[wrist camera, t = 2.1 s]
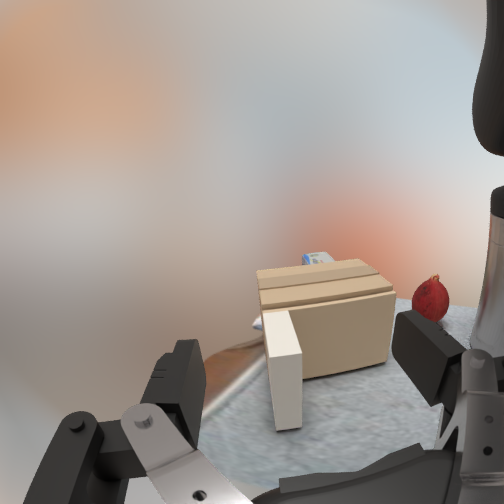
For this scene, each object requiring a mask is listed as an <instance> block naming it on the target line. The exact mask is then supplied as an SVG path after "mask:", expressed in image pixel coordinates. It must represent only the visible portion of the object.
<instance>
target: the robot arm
mask: <svg viewBox="0 0 504 504" xmlns="http://www.w3.org/2000/svg"><path fill="white" fill-rule="evenodd" d="M472 115H473V125H474V130H475V133H476V136H477V138H478V141H479V142H480V144H481V145H482V146H483V147H484V148H485V149H486V150H487V151H488V152H490V153H493V154H495V155H499V156H504V0H487V29H486V39H485V45H484V50H483V55H482V59H481V63H480V68H479V72H478V75H477V79H476V83H475V88H474V94H473V104H472ZM490 209H491V211H490V212H491V213H490V229H489V242H488V252H487V261H486V267H485V274H484V280H483V286H482V291H481V296H480V301H479V306H478V310H477V314H476V318H475V322H474V326H473V330H472V333H471V337H470V344H471V347H472V349H469V350H467V349H465V348H464V347H463V346H462V345H461V344H460V343H459V342H458V341H456V340H455V339H454V338H453V337H452V336H451V335H448V333H447V332H446V331H445V330H443V328H442V327H440V326H439V325H438V324H437V323H436V322H433V321H431V320H429V319H427V318H424V317H423V316H422V315H421V314H420V313H419V312H417V311H416V310H409V311H405V312H400V313H398V314H397V316H396V320H395V327H394V334H393V340H392V354H393V356H394V358H395V360H396V361H397V362H398V364H399V365H400V366H401V368H402V369H403V370H404V371H405V373H406V374H407V375H408V377H409V378H410V379H411V381H412V382H413V383H414V385H415V386H416V387H417V389H418V390H419V392H420V393H421V394H422V396H423V397H424V398H425V400H426V401H427V402H428V404H429V405H430V407H432V406H434V405H436V404H439V403H441V402H442V403H443V407H442V409H441V413H440V419H439V425H438V431H437V436H436V441H435V446H434V449H432V450H423V448H422V447H421V445H420V443H417V444H414V445H412V446H409V447H407V448H404V449H401V450H399V451H396V452H393V453H390V454H388V455H386V456H385V457H383V458H381V459H380V460H378V461H376V462H374V463H373V464H371V465H369V466H367V467H365V468H363V469H362V470H359V471H356V472H341V473H313V474H308V475H302V476H295V477H288V478H280V479H279V488H276V489H273V490H270V491H268V492H265V493H263V494H261V495H259V496H257V497H256V498H254V499H253V500H251V501H250V500H249V499H248V498H246V497H245V496H244V495H243V494H242V493H241V492H240V491H239V490H238V489H237V488H236V487H235V486H234V485H233V484H232V483H230V481H229V480H227V479H226V478H225V477H224V475H223V474H222V473H221V472H220V471H219V470H218V469H217V468H216V467H215V466H214V465H213V464H212V463H211V462H210V461H209V460H208V459H207V458H206V456H205V455H204V454H203V453H202V452H201V451H200V450H198V449H197V445H198V437H199V430H200V423H201V416H202V409H203V402H204V395H205V389H206V373H205V368H204V364H203V360H202V356H201V351H200V347H199V343H198V340H197V339H190V340H178V341H177V343H176V345H175V348H174V351H173V353H165V354H164V355H163V356H162V357H161V358H160V359H159V360H158V361H157V363H156V365H155V368H154V371H153V373H152V375H151V379H150V380H149V382H148V384H147V387H146V389H145V392H144V394H143V397H142V400H141V402H140V404H138V405H134V406H132V407H130V408H129V409H128V410H126V411H125V412H124V414H123V415H122V417H121V419H120V420H114V421H107V422H97V420H96V418H95V417H94V416H93V415H92V414H90V413H88V412H84V411H79V412H74V413H71V414H69V415H68V416H66V417H65V418H64V419H63V420H62V422H61V423H60V425H59V427H58V429H57V431H56V433H55V435H54V437H53V439H52V441H51V443H50V444H49V446H48V449H47V451H46V453H45V455H44V457H43V459H42V461H41V463H40V465H39V468H38V470H37V472H36V474H35V476H34V478H33V481H32V483H31V486H30V488H29V490H28V492H27V495H26V497H25V500H24V502H23V504H124V501H125V496H126V491H127V487H128V482H129V478H138V477H146V476H148V477H149V479H150V480H151V482H152V484H153V485H154V487H155V488H156V490H157V491H158V493H159V494H160V496H161V497H162V499H163V500H164V502H165V503H166V504H504V186H501V187H498V188H496V189H494V190H493V192H492V194H491V208H490Z"/></svg>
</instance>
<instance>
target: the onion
mask: <svg viewBox="0 0 504 504" xmlns="http://www.w3.org/2000/svg"><path fill="white" fill-rule="evenodd" d="M448 307H449V296H448V292H447V290H446V288H445V287H444V286H443V284H441V283H440V282H439V276H438V274H434V275H432V276H431V277H430V279H429V280H427V281H425V282H424V283H422V284H421V285H420V286H419V287H418V288H417V290H416V291H415V293H414V295H413V298H412V310H416V311H417V312H419V313H420V314H421V315H422V316H423V317H424V318H427V319H429V320H431V321H433V322H437V321H439V320H440V319H442V318H443V317H444V315H445V314H446V313H447V310H448Z"/></svg>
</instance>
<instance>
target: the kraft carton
mask: <svg viewBox="0 0 504 504" xmlns="http://www.w3.org/2000/svg"><path fill="white" fill-rule="evenodd" d="M257 281H258V291H259V300H260V310H261V320H262V329H263V338H264V346H265V353H266V343H265V333H264V323H263V313H262V311H263V310H272V309H280V308H288V307H296V306H303V305H311V304H318V303H325V302H331V301H338V300H344V299H350V298H356V297H362V296H368V295H374V294H379V293H385V292H390V291H392V290H393V285H392V284H391V283H389V282H388V281H387V280H385V279H384V278H383V277H382V276H380V275H379V272H377V271H376V270H375V269H374V268H372V267H371V266H370V265H366V264H365V263H364V262H362V261H361V260H360V259H351V260H343V261H335V262H327V263H319V264H310V265H302V266H294V267H286V268H277V269H268V270H259V271H257ZM266 361H267V353H266ZM267 368H268V363H267ZM268 376H269V373H268Z"/></svg>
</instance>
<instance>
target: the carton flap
mask: <svg viewBox="0 0 504 504" xmlns="http://www.w3.org/2000/svg"><path fill="white" fill-rule="evenodd" d="M395 302H396V292H395V291H390V292H385V293H379V294H374V295H368V296H362V297H356V298H350V299H344V300H338V301H331V302H325V303H318V304H311V305H303V306H296V307H288V308H280V309H272V310H263V311H262V313H263V323H264V333H265V343H266V353H267V363H268V373H269V382H270V390H271V397H272V405H273V412H274V420H275V427H276V431H277V430H285V429H292V428H299V427H302V379H306V378H312V377H318V376H323V375H329V374H334V373H339V372H344V371H348V370H353V369H358V368H362V367H366V366H370V365H374V364H378V363H382V362H386V361H387V357H388V352H389V346H390V340H391V333H392V326H393V319H394V311H395Z"/></svg>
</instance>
